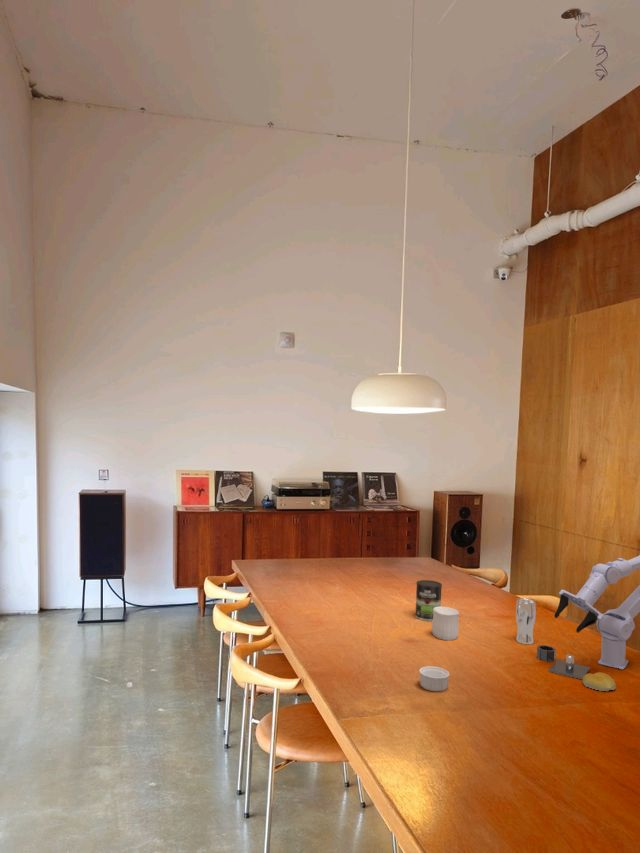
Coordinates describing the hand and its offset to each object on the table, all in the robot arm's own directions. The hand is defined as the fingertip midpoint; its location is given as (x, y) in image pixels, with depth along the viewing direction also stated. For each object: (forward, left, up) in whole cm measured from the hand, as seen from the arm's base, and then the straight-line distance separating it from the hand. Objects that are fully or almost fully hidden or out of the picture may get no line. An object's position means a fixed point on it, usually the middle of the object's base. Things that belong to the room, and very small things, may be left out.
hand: (566, 623), depth 193 cm
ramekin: (+38, -28, -16) cm, 50 cm away
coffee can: (-23, -59, -16) cm, 65 cm away
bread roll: (+4, +11, -16) cm, 20 cm away
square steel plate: (-3, +1, -16) cm, 16 cm away
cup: (-6, -44, -16) cm, 47 cm away
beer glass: (-21, -19, -16) cm, 33 cm away
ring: (-8, -8, -16) cm, 19 cm away
